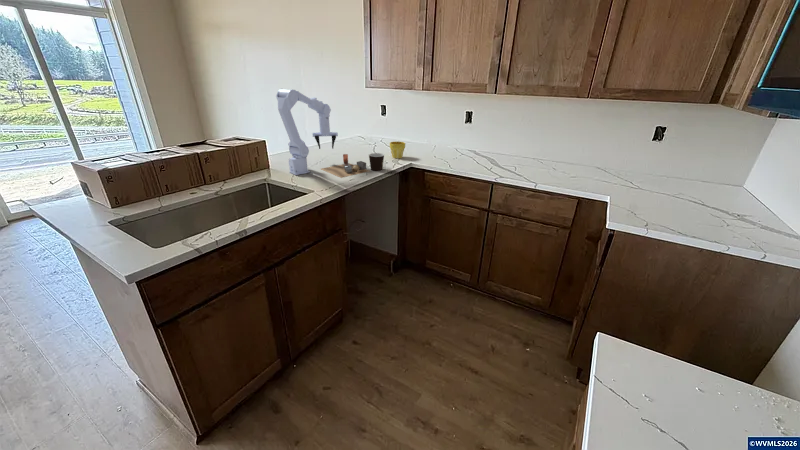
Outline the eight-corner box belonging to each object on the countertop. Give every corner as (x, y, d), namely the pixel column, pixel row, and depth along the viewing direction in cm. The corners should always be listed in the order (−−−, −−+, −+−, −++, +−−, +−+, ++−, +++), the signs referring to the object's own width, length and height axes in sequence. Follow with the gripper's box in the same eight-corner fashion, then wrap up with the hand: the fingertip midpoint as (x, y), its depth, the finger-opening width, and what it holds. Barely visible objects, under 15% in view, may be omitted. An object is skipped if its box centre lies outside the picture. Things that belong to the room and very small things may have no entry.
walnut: (355, 172, 186) (355, 166, 184) (351, 171, 188) (351, 164, 187) (360, 171, 188) (360, 165, 187) (357, 169, 191) (356, 163, 189)
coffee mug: (378, 175, 187) (378, 157, 183) (366, 172, 191) (365, 155, 187) (389, 170, 196) (390, 153, 192) (377, 168, 200) (377, 151, 196)
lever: (352, 172, 184) (352, 161, 182) (345, 173, 184) (344, 161, 181) (349, 164, 200) (348, 153, 197) (342, 164, 199) (341, 154, 197)
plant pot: (396, 154, 231) (396, 140, 227) (408, 157, 226) (408, 142, 221) (386, 157, 224) (386, 142, 220) (398, 160, 218) (398, 145, 214)
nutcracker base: (341, 180, 177) (340, 169, 175) (320, 171, 192) (319, 161, 189) (371, 173, 190) (370, 163, 187) (349, 165, 204) (348, 155, 202)
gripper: (336, 123, 200) (338, 146, 206) (311, 124, 197) (314, 147, 203) (337, 125, 194) (338, 149, 200) (311, 126, 191) (313, 149, 197)
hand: (326, 148), depth 201 cm, fingers open, 7 cm apart
